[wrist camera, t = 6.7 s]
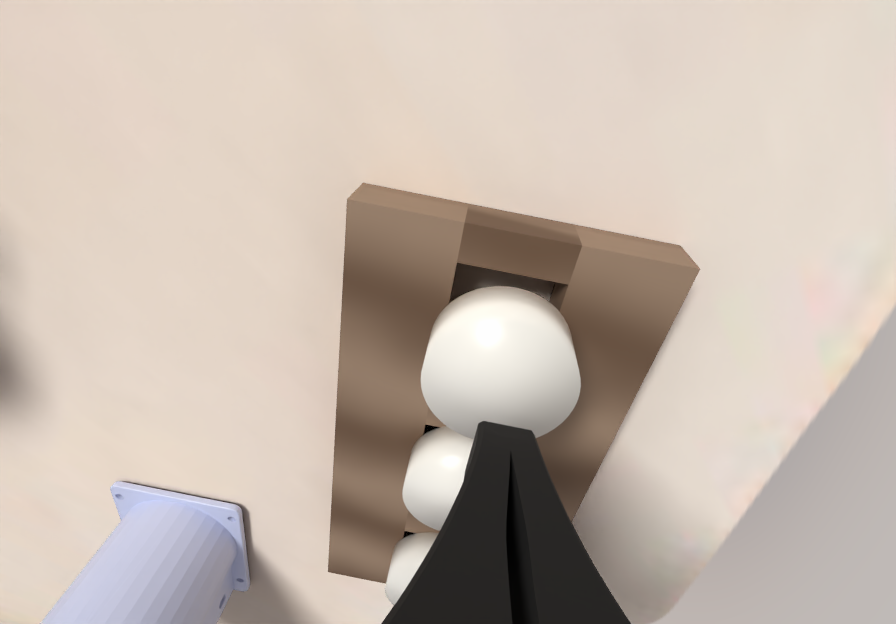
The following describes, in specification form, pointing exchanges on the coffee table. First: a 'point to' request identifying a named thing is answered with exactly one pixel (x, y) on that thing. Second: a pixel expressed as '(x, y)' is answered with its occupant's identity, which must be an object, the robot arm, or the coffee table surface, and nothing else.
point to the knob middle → (435, 475)
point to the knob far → (406, 562)
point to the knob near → (500, 362)
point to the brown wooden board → (409, 328)
